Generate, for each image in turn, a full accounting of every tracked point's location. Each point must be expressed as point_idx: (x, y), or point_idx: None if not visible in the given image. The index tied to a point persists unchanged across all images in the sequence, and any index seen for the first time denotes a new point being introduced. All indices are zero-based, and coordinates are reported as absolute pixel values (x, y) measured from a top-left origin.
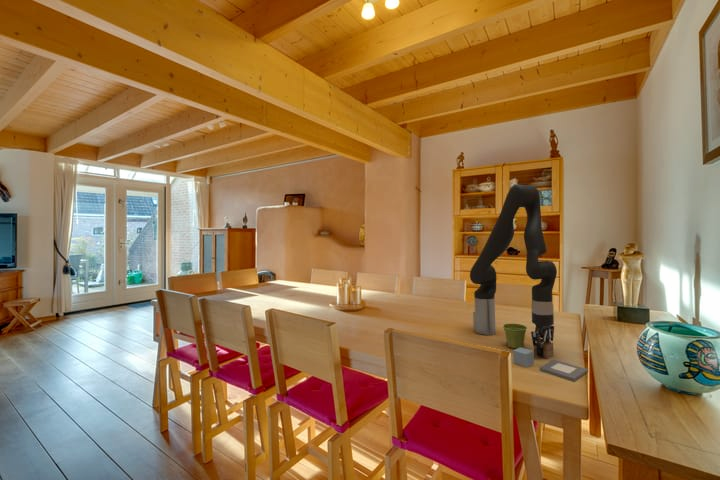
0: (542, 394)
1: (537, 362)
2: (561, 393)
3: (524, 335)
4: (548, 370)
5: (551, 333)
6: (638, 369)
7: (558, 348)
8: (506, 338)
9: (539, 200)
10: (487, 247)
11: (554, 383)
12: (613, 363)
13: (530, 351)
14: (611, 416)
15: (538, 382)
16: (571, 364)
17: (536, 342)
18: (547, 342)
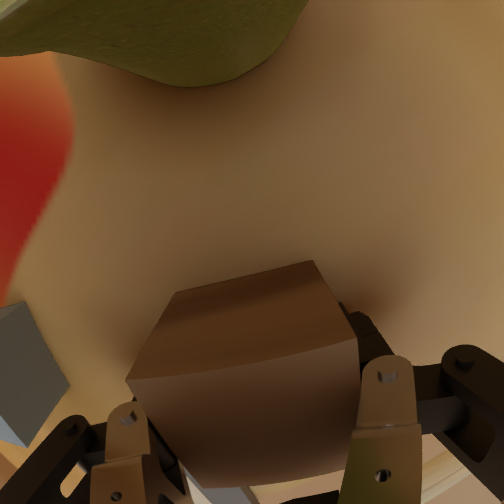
0: (17, 466)
1: (102, 388)
2: (61, 492)
3: (243, 14)
4: (81, 468)
5: (487, 477)
6: (428, 500)
7: (500, 267)
8: None
9: None
10: None
11: (68, 479)
12: (438, 474)
13: (7, 436)
14: None
15: (24, 450)
16: (246, 496)
17: (111, 448)
18: (328, 445)
